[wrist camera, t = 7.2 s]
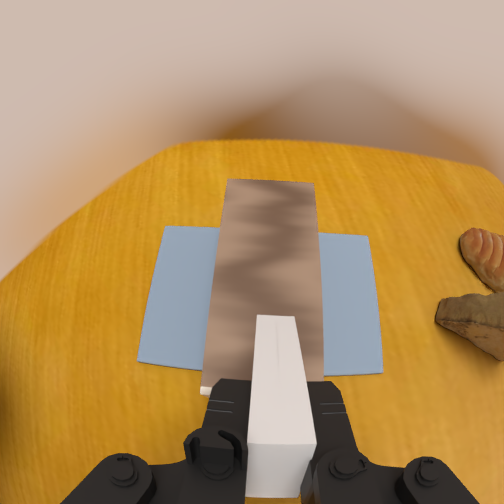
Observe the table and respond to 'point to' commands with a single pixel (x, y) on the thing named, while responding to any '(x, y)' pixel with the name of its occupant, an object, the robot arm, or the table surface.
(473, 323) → the rock
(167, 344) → the mat
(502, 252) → the pastry
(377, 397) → the table surface
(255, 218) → the walnut block
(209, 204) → the table surface
